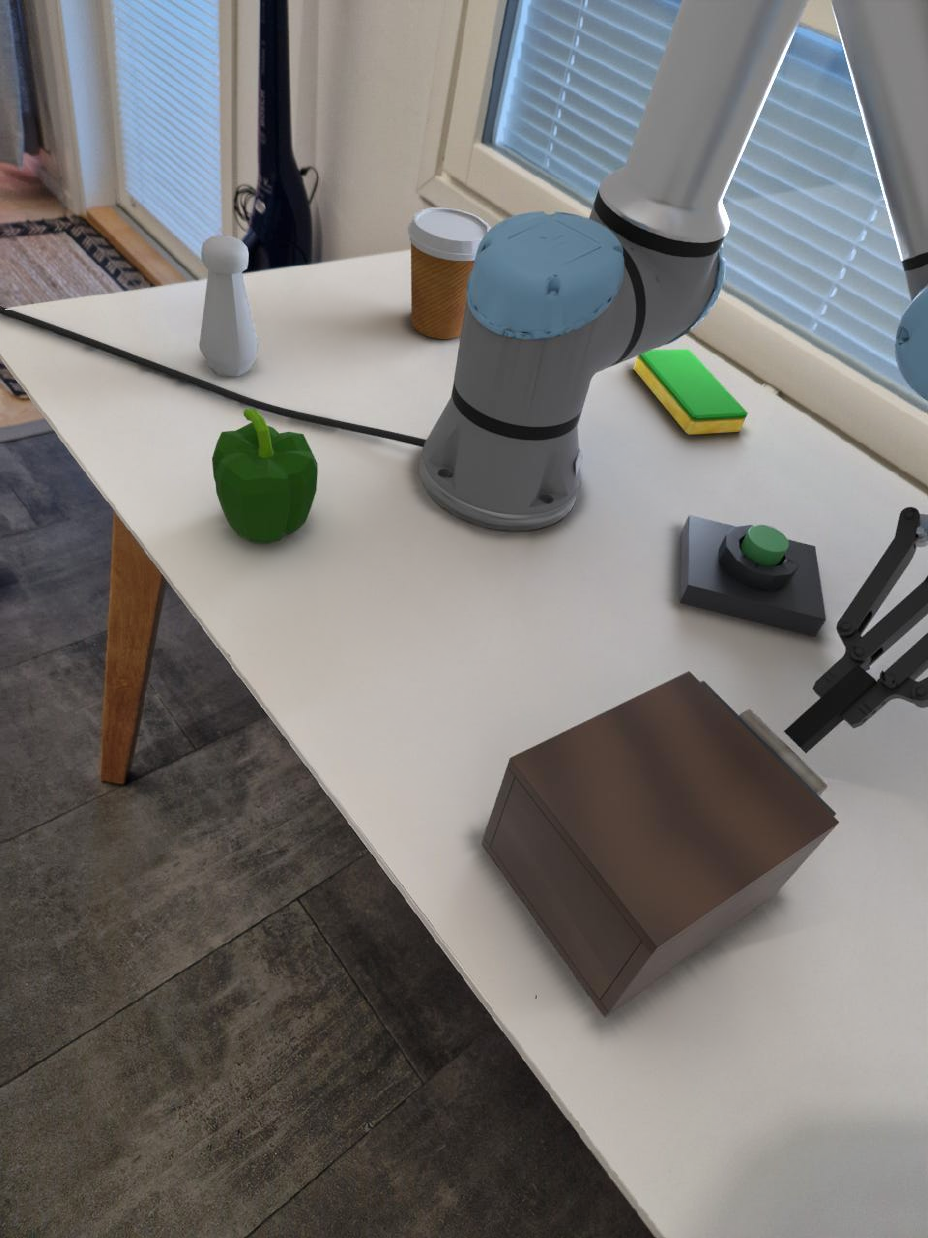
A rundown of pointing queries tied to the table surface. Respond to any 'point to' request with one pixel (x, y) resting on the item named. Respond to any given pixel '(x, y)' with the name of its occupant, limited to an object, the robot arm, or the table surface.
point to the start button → (764, 545)
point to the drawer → (779, 750)
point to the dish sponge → (690, 392)
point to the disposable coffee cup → (442, 268)
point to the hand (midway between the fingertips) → (795, 742)
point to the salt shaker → (227, 308)
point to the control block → (749, 578)
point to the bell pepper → (264, 479)
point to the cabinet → (649, 835)
